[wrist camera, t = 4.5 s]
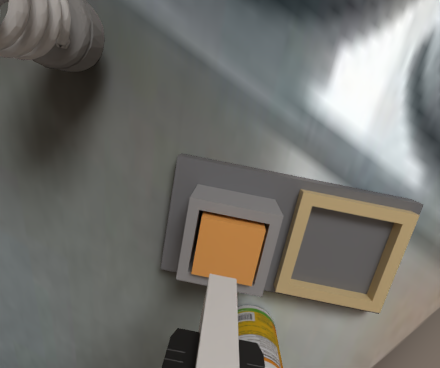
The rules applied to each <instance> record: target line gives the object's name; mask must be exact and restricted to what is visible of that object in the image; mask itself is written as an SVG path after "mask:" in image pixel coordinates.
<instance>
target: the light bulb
mask: <svg viewBox="0 0 440 368" xmlns="http://www.w3.org/2000/svg"><path fill="white" fill-rule="evenodd" d="M5 2H9V4H8V12H7V14H6V17H5V18H4V20H3V22H2V24H1V25H0V56H1V57H6V58H16V59H20V60H33V61H35V62H37V63H39V64H41V65H43V66H45V67H47V68H53V69H58V70H63V71H68V72H80V71H84V70H87V69H88V68H90V67H92V66H93V65H95V63H96V62H97V61H98V59H99V58H100V56H101V54H102V51H103V48H104V42H105V38H104V29H103V25H102V23H101V21H100V18H99V16H98V15H97V13H96V12H95V11H94V9H93V8H92V7H91V6H90V5H89V4H88V3H87V2H86V1H85V0H0V7H1V5H2V4H4V3H5Z"/></svg>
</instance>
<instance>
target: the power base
mask: <svg viewBox="0 0 440 368" xmlns="http://www.w3.org/2000/svg"><path fill="white" fill-rule="evenodd" d="M422 207H423V204H421V203H419V202H416V201H414V200H412V199H407V198H402V197H397V196H392V195H387V194H382V193H377V192H372V191H367V190H362V189H357V188H352V187H347V186H342V185H337V184H332V183H327V182H322V181H317V180H312V179H307V178H302V177H297V176H292V175H287V174H282V173H277V172H272V171H267V170H262V169H257V168H252V167H247V166H242V165H237V164H232V163H227V162H222V161H217V160H212V159H207V158H202V157H197V156H192V155H187V154H182V153H181V154H179V155H178V157H177V164H176V170H175V177H174V183H173V190H172V196H171V203H170V210H169V216H168V223H167V229H166V236H165V243H164V249H163V256H162V262H161V269H163V270H168V271H173V272H177V276H176V279H177V280H181V281H186V282H191V283H196V284H201V285H206V286H207V284H208V279H209V277H204V276H199V275H194V274H191V272H192V267H193V262H194V256H195V251H196V245H197V240H198V235H199V229H200V224H201V219H202V215H203V212H204V211H207V212H212V213H217V214H222V215H227V216H232V217H237V218H242V219H247V220H252V221H257V222H262V223H264V225H265V229H266V232H265V236H264V240H263V244H262V247H261V251H260V255H259V259H258V263H257V267H256V271H255V275H254V279H253V283H252V286H248V285H243V284H238V283H237V292H240V293H245V294H250V295H254V296H259V297H262V295H263V291H264V290H265V291H270V292H275V293H280V294H285V295H290V296H295V297H300V298H304V299H309V300H314V301H319V302H324V303H329V304H334V305H339V306H344V307H348V308H353V309H358V310H363V311H368V312H373V313H378V314H379V313H380V311H381V309H382V306H383V304H384V301H385V299H386V296H387V294H388V292H389V289H390V287H391V284H392V282H393V279H394V277H395V274H396V272H397V269H398V267H399V265H400V262H401V260H402V257H403V255H404V252H405V250H406V247H407V245H408V242H409V240H410V237H411V235H412V233H413V230H414V228H415V225H416V223H417V220H418V218H419V214H420V212H421V210H422Z"/></svg>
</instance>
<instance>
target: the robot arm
mask: <svg viewBox="0 0 440 368" xmlns="http://www.w3.org/2000/svg"><path fill="white" fill-rule="evenodd" d="M162 368H265V362H264V355H263V352H262V351H261V349H260V347H259V345H258V343H255V342H250V341H245V340H240V339H239V338H238V309H237V279H235V278H230V277H225V276H220V275H215V274H209V279H208V284H207V289H206V294H205V299H204V304H203V309H202V313H201V319H200V325H199V332H195V331H190V330H185V329H179V328H178V329H177V330H176V331H175V332H174V333H173V335H172V336H171V337H170V341H169V344H168V348H167V351H166V355H165V359H164V362H163V365H162Z"/></svg>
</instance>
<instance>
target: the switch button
mask: <svg viewBox="0 0 440 368" xmlns="http://www.w3.org/2000/svg"><path fill="white" fill-rule="evenodd" d="M265 232H266V229H265V225H264V223H262V222H257V221H252V220H247V219H242V218H237V217H232V216H227V215H222V214H217V213H212V212H207V211H204V212H203V215H202V219H201V224H200V229H199V235H198V240H197V245H196V251H195V256H194V262H193V267H192V272H191V274H194V275H199V276H204V277H209V274H215V275H220V276H225V277H230V278H235V279H237V283H238V284H243V285H248V286H252V283H253V279H254V275H255V271H256V267H257V263H258V259H259V255H260V251H261V247H262V244H263V240H264V236H265Z"/></svg>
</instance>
